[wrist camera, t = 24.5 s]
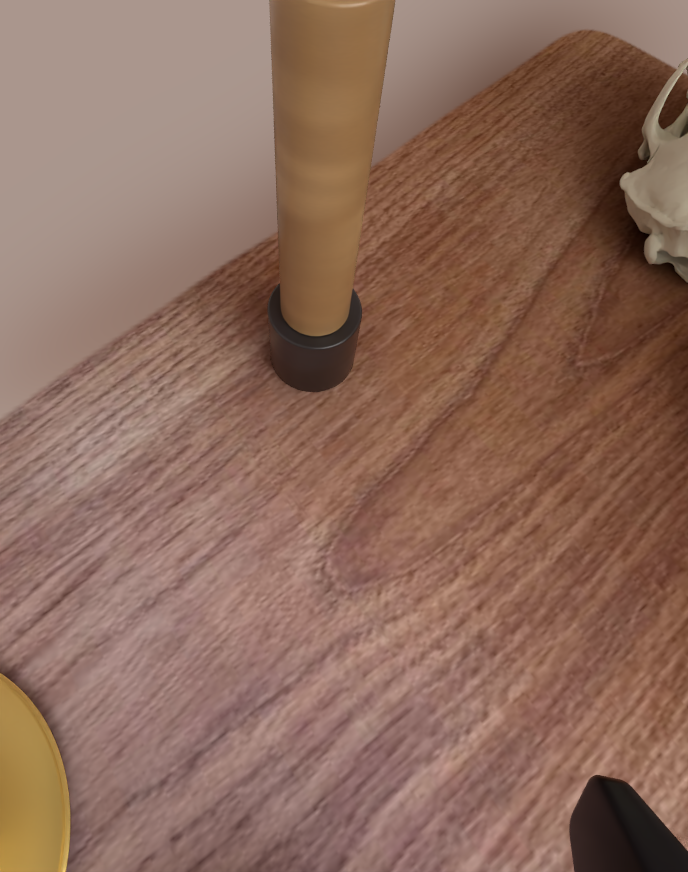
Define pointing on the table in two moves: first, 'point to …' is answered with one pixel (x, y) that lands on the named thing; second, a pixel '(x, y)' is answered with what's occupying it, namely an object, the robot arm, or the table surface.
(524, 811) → the table surface
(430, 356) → the table surface
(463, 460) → the table surface
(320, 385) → the wooden furniture leg
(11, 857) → the cup
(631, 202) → the animal skull
